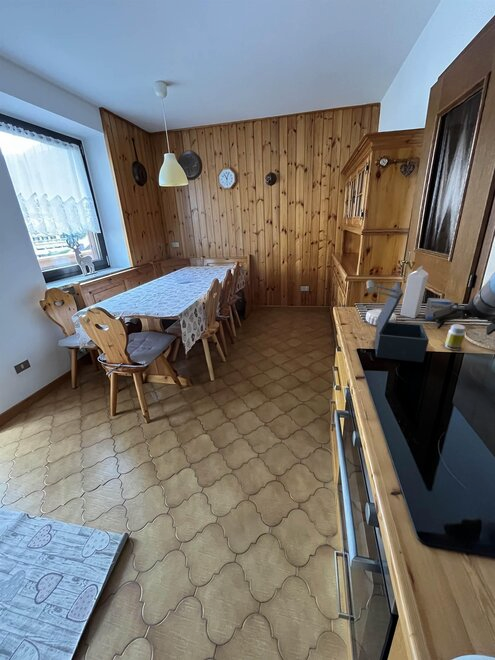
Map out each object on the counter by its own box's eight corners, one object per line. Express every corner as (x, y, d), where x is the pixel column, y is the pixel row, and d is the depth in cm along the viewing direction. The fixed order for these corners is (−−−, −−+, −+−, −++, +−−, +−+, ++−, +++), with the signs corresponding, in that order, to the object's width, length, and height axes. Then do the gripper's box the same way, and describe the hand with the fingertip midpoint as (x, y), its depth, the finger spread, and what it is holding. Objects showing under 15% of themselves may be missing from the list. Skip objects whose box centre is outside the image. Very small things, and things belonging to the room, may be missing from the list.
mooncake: (376, 328, 119) (377, 321, 117) (360, 317, 129) (361, 310, 127) (401, 324, 120) (403, 316, 119) (383, 313, 131) (385, 306, 129)
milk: (419, 314, 128) (431, 266, 118) (414, 318, 125) (426, 269, 114) (405, 310, 132) (415, 264, 122) (399, 315, 129) (409, 267, 118)
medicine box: (426, 319, 123) (430, 301, 119) (423, 315, 127) (428, 297, 123) (447, 321, 121) (452, 302, 117) (443, 316, 124) (449, 298, 120)
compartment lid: (398, 282, 97) (369, 273, 99) (403, 293, 88) (370, 284, 89) (379, 320, 105) (351, 311, 107) (381, 334, 96) (351, 324, 98)
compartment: (416, 345, 105) (422, 324, 101) (422, 362, 95) (428, 340, 91) (374, 341, 110) (377, 320, 106) (376, 357, 100) (379, 335, 96)
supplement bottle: (463, 350, 100) (470, 329, 97) (449, 350, 101) (456, 329, 97) (454, 343, 105) (461, 323, 101) (441, 344, 105) (447, 323, 101)
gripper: (552, 293, 71) (510, 322, 90) (436, 285, 81) (420, 313, 100) (552, 321, 69) (509, 344, 88) (433, 309, 79) (418, 332, 98)
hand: (462, 327), depth 94 cm, fingers open, 13 cm apart
